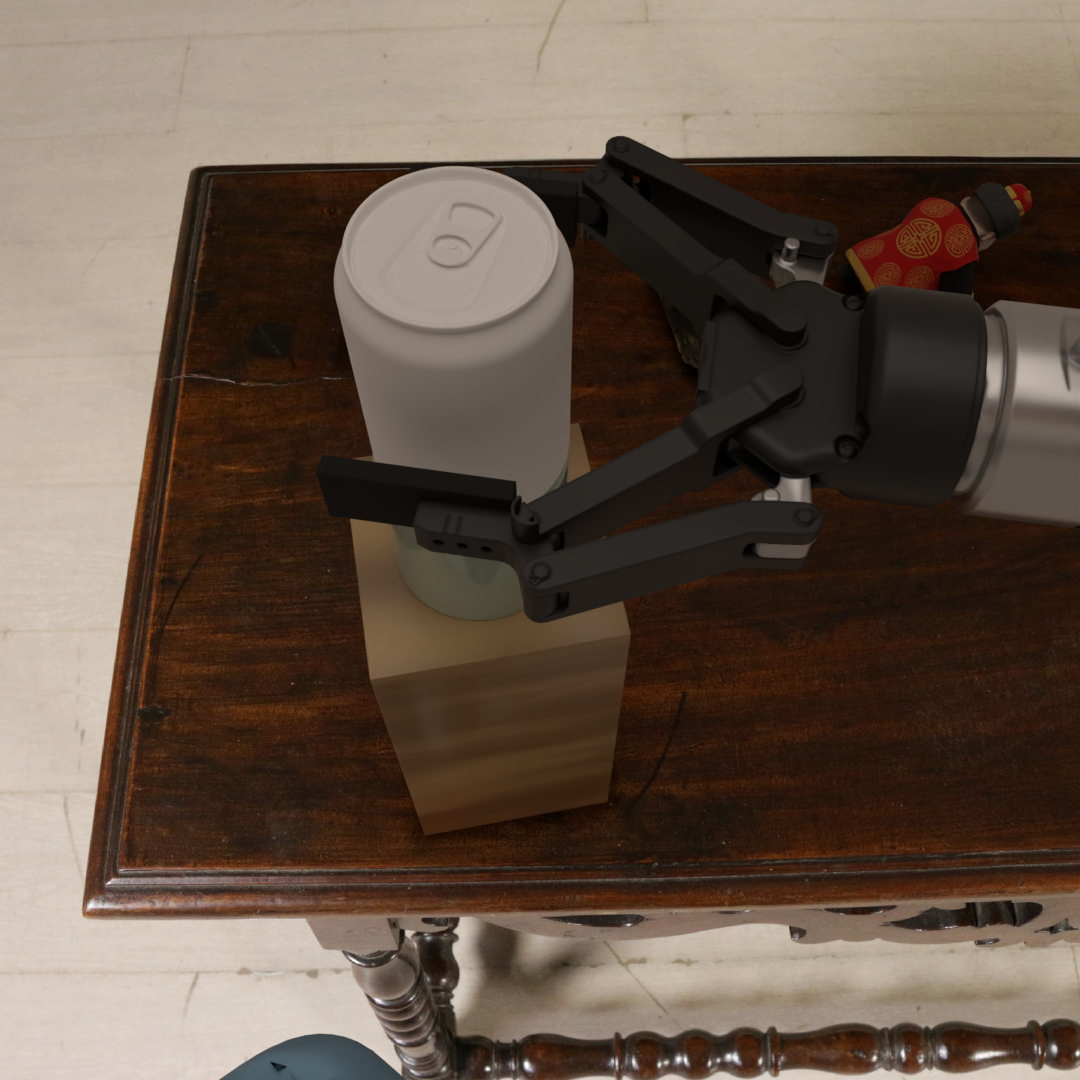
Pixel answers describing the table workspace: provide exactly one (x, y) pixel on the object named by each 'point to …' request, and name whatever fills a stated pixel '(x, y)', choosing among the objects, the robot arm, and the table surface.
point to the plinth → (491, 694)
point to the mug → (459, 576)
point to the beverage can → (460, 326)
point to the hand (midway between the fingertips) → (371, 330)
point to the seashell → (686, 331)
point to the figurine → (938, 241)
